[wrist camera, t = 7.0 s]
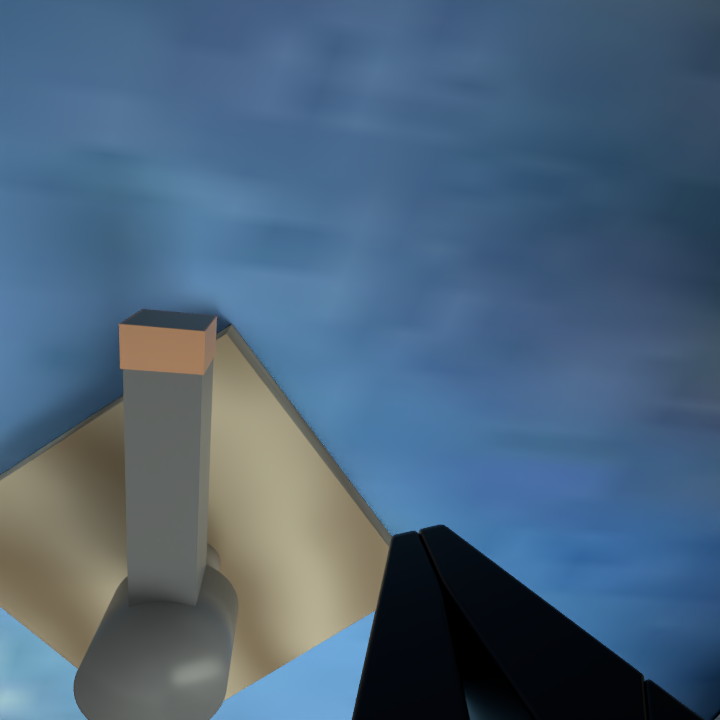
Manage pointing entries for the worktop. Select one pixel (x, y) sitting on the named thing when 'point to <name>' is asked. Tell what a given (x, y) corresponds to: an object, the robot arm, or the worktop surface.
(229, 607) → the grey elongated piece
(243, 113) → the worktop surface
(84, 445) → the stud base
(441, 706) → the robot arm
